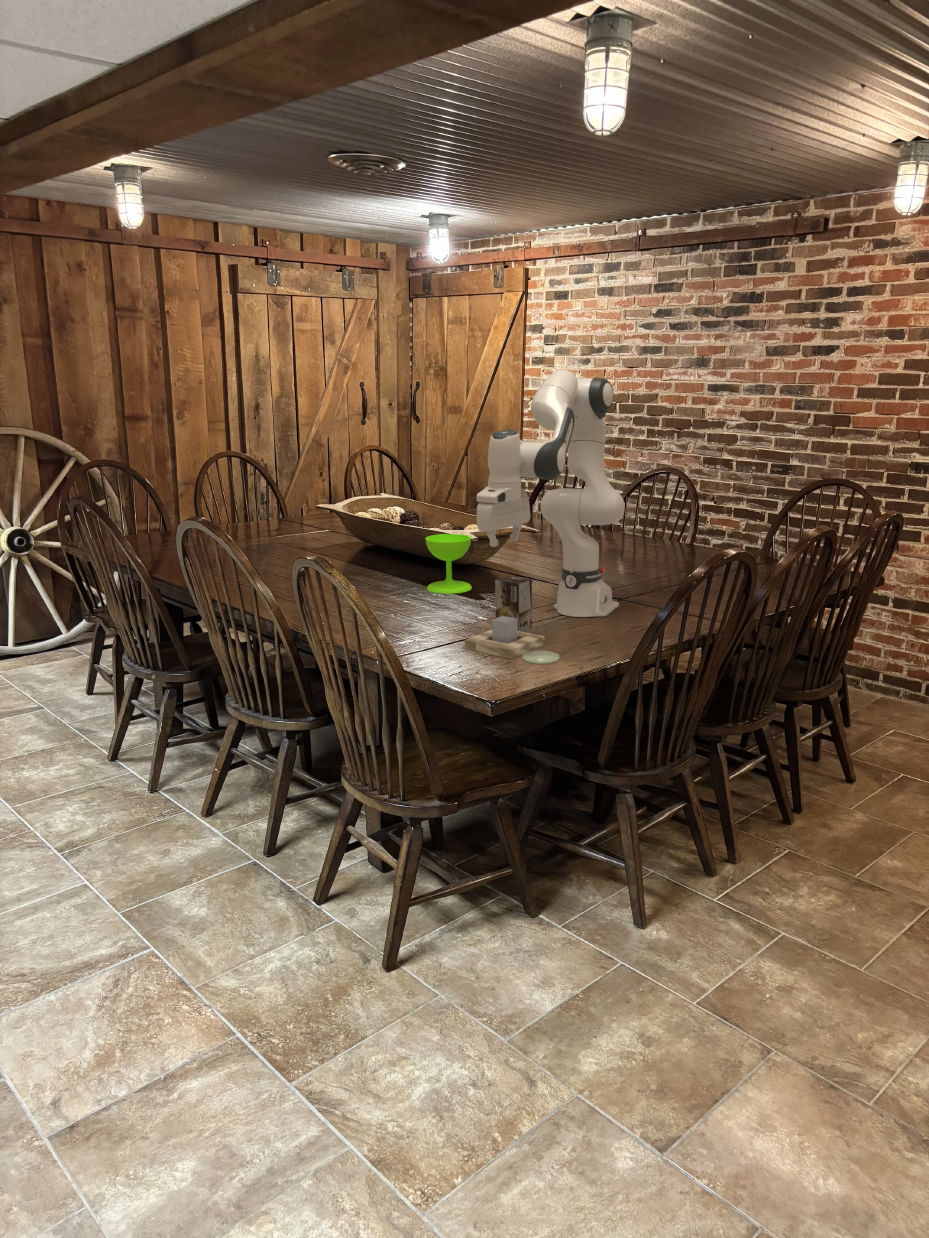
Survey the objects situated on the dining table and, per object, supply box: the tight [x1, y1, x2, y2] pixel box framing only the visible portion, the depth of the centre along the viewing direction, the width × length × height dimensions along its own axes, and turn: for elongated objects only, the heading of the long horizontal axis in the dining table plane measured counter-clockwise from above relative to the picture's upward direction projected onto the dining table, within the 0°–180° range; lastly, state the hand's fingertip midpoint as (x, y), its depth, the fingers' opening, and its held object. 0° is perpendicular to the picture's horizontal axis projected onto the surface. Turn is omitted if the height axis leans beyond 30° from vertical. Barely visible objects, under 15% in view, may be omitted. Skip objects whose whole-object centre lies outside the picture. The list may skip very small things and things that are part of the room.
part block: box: [491, 616, 517, 644], centre depth 255 cm, size 5×5×8 cm
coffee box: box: [494, 575, 533, 634], centre depth 267 cm, size 9×6×16 cm
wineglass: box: [425, 533, 473, 595], centre depth 321 cm, size 16×16×18 cm
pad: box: [521, 650, 560, 665], centre depth 245 cm, size 10×10×1 cm
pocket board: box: [464, 629, 545, 660], centre depth 256 cm, size 16×16×2 cm
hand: (504, 543), depth 248 cm, fingers open, 8 cm apart
